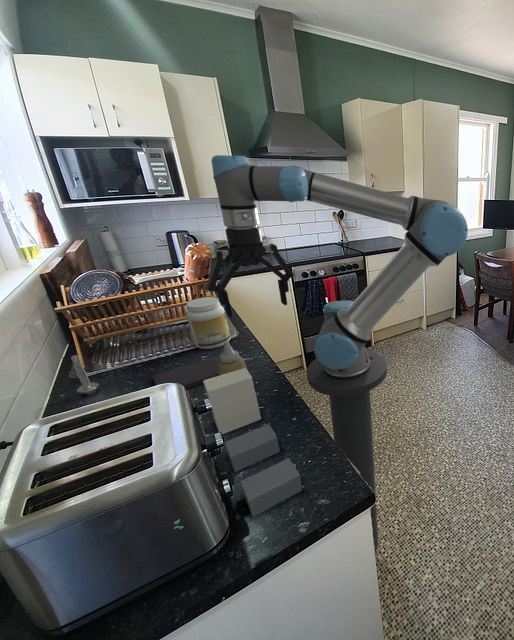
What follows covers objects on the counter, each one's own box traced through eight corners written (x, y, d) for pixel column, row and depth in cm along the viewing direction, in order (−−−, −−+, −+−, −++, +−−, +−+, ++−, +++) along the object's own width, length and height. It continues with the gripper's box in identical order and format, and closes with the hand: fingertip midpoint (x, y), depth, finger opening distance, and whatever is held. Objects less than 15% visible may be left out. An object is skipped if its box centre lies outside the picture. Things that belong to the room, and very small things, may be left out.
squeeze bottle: (219, 405, 99) (204, 350, 92) (228, 389, 106) (215, 337, 99) (250, 402, 101) (237, 348, 93) (256, 386, 108) (245, 335, 101)
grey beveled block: (292, 472, 78) (289, 457, 76) (302, 490, 74) (299, 475, 72) (244, 496, 72) (240, 481, 70) (252, 517, 68) (248, 501, 66)
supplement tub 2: (238, 340, 135) (228, 300, 128) (206, 353, 126) (194, 310, 119) (220, 333, 141) (210, 293, 134) (188, 344, 131) (176, 303, 125)
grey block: (272, 437, 88) (269, 423, 86) (280, 451, 84) (277, 437, 82) (228, 456, 82) (224, 442, 80) (234, 472, 78) (230, 457, 76)
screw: (76, 399, 100) (84, 390, 104) (97, 396, 102) (104, 387, 106) (57, 361, 95) (66, 352, 99) (80, 358, 96) (88, 350, 100)
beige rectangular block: (254, 408, 98) (251, 395, 97) (261, 419, 94) (258, 405, 92) (215, 422, 92) (211, 409, 91) (220, 435, 88) (216, 421, 86)
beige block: (251, 395, 97) (248, 381, 95) (258, 405, 92) (255, 391, 91) (211, 409, 91) (207, 395, 89) (216, 421, 86) (212, 406, 85)
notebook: (160, 397, 102) (237, 371, 115) (158, 393, 101) (236, 367, 115) (153, 379, 110) (226, 357, 124) (151, 375, 110) (225, 353, 123)
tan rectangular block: (248, 381, 95) (245, 367, 93) (255, 391, 91) (251, 377, 89) (207, 395, 89) (202, 380, 87) (211, 406, 85) (207, 391, 83)
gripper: (182, 234, 72) (206, 326, 81) (300, 224, 87) (309, 303, 96) (178, 229, 78) (201, 315, 86) (289, 221, 92) (299, 295, 101)
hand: (258, 309), depth 91 cm, fingers open, 13 cm apart
